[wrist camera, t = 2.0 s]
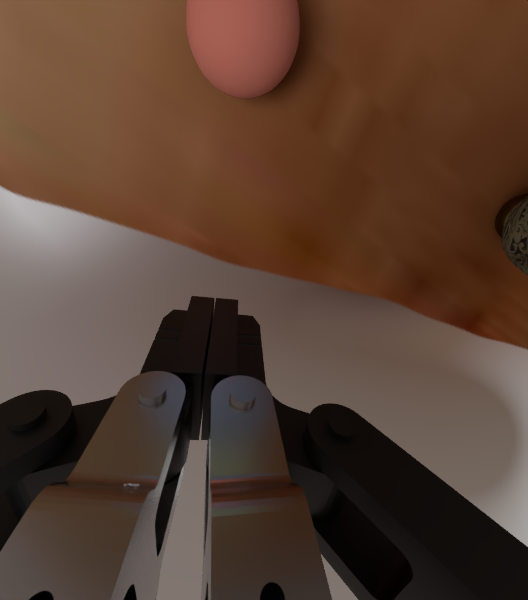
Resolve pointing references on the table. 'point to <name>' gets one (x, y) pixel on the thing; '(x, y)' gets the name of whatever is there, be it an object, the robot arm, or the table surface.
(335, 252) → the table surface
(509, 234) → the cup
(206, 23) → the ball
